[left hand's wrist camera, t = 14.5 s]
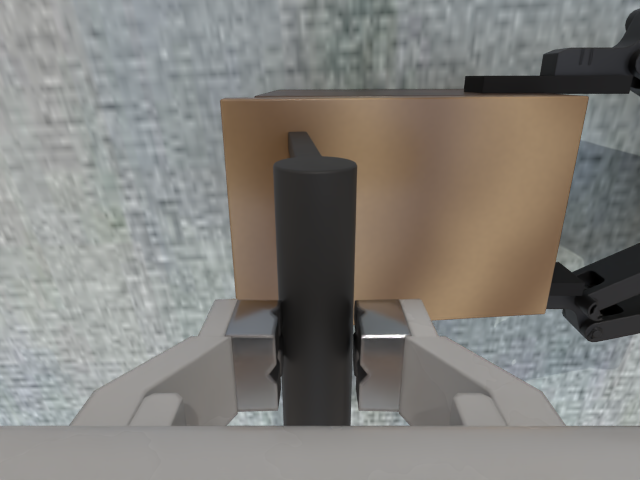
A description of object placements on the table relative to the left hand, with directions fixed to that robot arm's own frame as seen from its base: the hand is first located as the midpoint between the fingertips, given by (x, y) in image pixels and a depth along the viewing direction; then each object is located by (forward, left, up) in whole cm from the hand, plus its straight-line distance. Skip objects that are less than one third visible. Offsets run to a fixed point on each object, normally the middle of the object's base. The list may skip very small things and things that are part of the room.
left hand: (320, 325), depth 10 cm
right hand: (+7, +2, -13) cm, 15 cm away
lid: (+3, +1, -9) cm, 9 cm away
